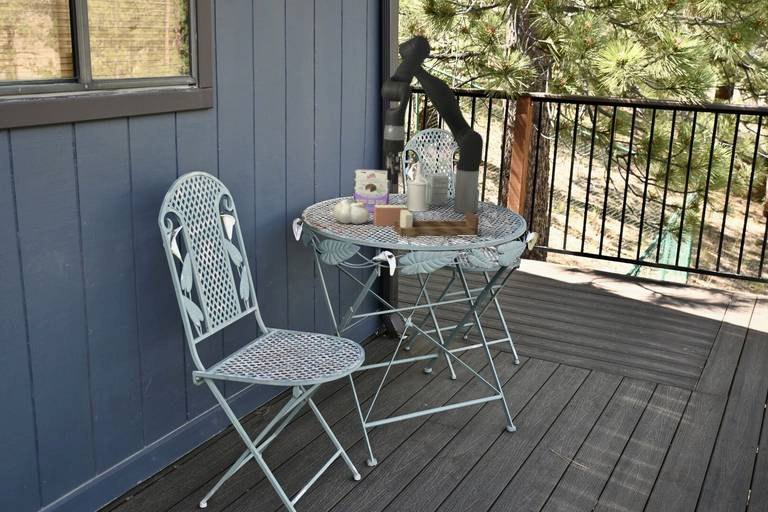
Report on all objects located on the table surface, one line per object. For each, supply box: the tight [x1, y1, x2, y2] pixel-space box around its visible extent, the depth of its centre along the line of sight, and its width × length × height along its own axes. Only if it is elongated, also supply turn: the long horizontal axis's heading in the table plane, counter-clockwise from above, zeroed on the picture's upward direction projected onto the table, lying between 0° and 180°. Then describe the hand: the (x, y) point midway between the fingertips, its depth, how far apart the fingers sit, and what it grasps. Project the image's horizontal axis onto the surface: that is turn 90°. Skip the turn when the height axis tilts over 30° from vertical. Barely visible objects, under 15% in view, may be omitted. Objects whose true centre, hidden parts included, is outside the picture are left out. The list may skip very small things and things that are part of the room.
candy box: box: [353, 168, 391, 214], centre depth 322 cm, size 14×6×16 cm, turn 84°
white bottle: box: [406, 160, 430, 213], centre depth 328 cm, size 10×9×20 cm
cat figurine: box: [328, 198, 371, 225], centre depth 300 cm, size 10×8×15 cm
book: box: [372, 204, 408, 227], centre depth 301 cm, size 12×4×7 cm, turn 101°
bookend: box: [400, 210, 414, 228], centre depth 289 cm, size 2×9×6 cm, turn 11°
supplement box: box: [426, 172, 449, 206], centre depth 343 cm, size 7×7×13 cm
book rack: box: [393, 211, 480, 238], centre depth 291 cm, size 28×12×7 cm, turn 101°
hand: (392, 182), depth 297 cm, fingers open, 8 cm apart
